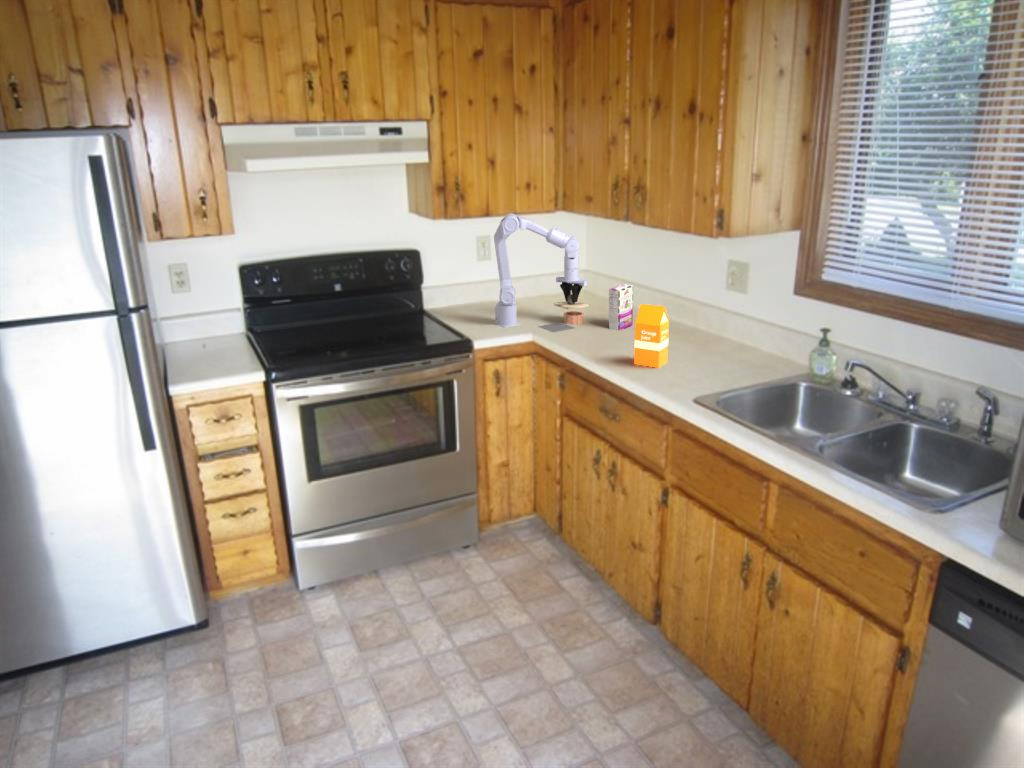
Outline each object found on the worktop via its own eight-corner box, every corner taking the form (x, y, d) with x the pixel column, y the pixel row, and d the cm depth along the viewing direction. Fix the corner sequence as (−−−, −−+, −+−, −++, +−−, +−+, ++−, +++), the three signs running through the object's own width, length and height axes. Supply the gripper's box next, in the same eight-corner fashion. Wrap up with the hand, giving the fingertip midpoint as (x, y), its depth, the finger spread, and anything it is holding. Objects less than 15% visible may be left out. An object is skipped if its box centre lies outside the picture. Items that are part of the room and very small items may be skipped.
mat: (537, 327, 297) (537, 326, 296) (560, 323, 302) (560, 322, 302) (553, 333, 288) (553, 332, 288) (576, 328, 293) (576, 327, 293)
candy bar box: (621, 323, 299) (622, 283, 294) (632, 325, 296) (634, 284, 291) (607, 329, 291) (608, 288, 286) (618, 331, 288) (619, 289, 283)
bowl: (560, 322, 304) (560, 313, 302) (575, 319, 308) (576, 310, 306) (571, 326, 297) (571, 316, 296) (587, 323, 301) (587, 314, 300)
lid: (553, 305, 300) (553, 294, 299) (573, 302, 305) (574, 291, 304) (568, 309, 292) (568, 298, 291) (588, 306, 297) (588, 295, 296)
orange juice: (643, 358, 253) (645, 301, 247) (667, 362, 249) (670, 304, 242) (633, 364, 247) (635, 306, 241) (658, 368, 243) (661, 309, 236)
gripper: (592, 268, 292) (591, 302, 296) (563, 264, 301) (563, 297, 306) (581, 271, 287) (580, 305, 291) (552, 267, 296) (552, 300, 301)
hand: (571, 301), depth 298 cm, fingers closed on lid, 3 cm apart
